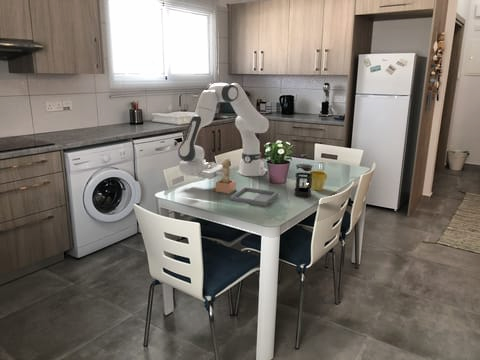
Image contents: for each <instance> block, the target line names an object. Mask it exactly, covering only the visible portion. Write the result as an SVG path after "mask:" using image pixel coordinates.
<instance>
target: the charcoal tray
mask: <svg viewBox="0 0 480 360" xmlns="http://www.w3.org/2000/svg"><path fill="white" fill-rule="evenodd" d="M244 192H251V193H252V192H253V193H259V195H257V196H256V197H254V198H246V197H240V195H241V194H243V193H244ZM238 196H239V197H238ZM278 197H279V191H277V190H270V189H269V190H268V189H262V188H261V189H260V188H255V187H248V186H245V187H242V188H241V189H240V190H237V191H235V193H233V194H231V195H229V200H230V201H236V202H242V203H247V205H252V206H258V207H267V206H268V205H269V204H271V202H273V201H274V200H275V199H276V198H278Z"/></svg>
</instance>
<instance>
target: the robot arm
mask: <svg viewBox="0 0 480 360" xmlns="http://www.w3.org/2000/svg"><path fill="white" fill-rule="evenodd" d="M218 103H230V105H231V107H232V108H233V111H234V112H235V114H236V115H237V116H236V117H235V120H234V125H235V127H236V128H237V130H238V131H239V133H240V136H241V141H242V153H241V160H239V169H238V170H237V173H238V174H240V175H241V176H245V177H262V176H263V177H264V176H265V174H266V173H267V172H268V169H267V168H265V164H264V161H263V160H262V158H261V156H262V152H261V151H260V147H261V146H260V139H258V137H257V136H256V135H257V134H264V133H266V132H267V131H268V129H269V127H270V121H269V119H268V118H267V117H264V116H263V115H262V114H261V113H260V112H259V111H258V110H257V109H256V108H255V106H253V104H252V103H251V101H250V99H249V97H248V95H247V94H246V92H245V90H244V89H243V88H242V86H241V85H240V84H239V83H236V82H233V83H225V82H212V83H209V84H208V85H207V86H206V88H205V90H203V91H202V92H201V94H200V96H199V97H198V102H197V105H196V108H195V111H194V114H193V116H192V118H191V119H190V121H189V125H188V126H187V129H186V132H185V136H184V138H183V141H182V142H181V144H180V146H179V147H178V149H177V154H178V157H179V158H180V162H179V166H178V167H179V172H180V173H181V174H182V175H184V176H189V177H197V178H201V179H202V178H203V179H208V180H212V179H215V178H217V177H222V176H225V173H223V172H222V164H221V163H216V162H214V161H212V162H211V161H209V162H204V159H205V154H206V153H205V149H204V148H203V147H202V146H200V145H196V144H195V143H196V141H197V137H198V134H199V132H200V130H201V129H202V128H204V127H205V126H208V125H210V124H211V123H212V122H213V121H214V118H215V115H216V110H217V106H218ZM230 173H231V169H229V174H230Z"/></svg>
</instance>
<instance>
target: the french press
mask: <svg viewBox="0 0 480 360" xmlns="http://www.w3.org/2000/svg"><path fill="white" fill-rule="evenodd" d="M300 156H302V157H303V158H304V159H303V163H298V164H296V166H295V167H296V170H298V169H302V171H303V172H301V171H300V172H296V173H295V175H294V176H295V180H296V181H295V188H294V194H293V195H294V196H295V197H297V198H301V199H308V198H311V196H312V189H311V185H312V173H309V172H310V171H313V170H312V168H313V167H314V166H313V165H312V164H309V163H308V164H307V163H306V158H307V157H309V154H304V153H303V154H301V155H300ZM301 180H302V181H301ZM304 180H306V182H305V181H304ZM300 181H301V182H300Z"/></svg>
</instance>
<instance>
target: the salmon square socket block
mask: <svg viewBox="0 0 480 360" xmlns="http://www.w3.org/2000/svg"><path fill="white" fill-rule="evenodd" d="M236 186H237V180H233V179H229V184H227V183H222V178H221V179H220V180H218V181H216V182H215V192H217V193H225V194H231V193H233V192H235V191H236V188H237V187H236Z"/></svg>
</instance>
